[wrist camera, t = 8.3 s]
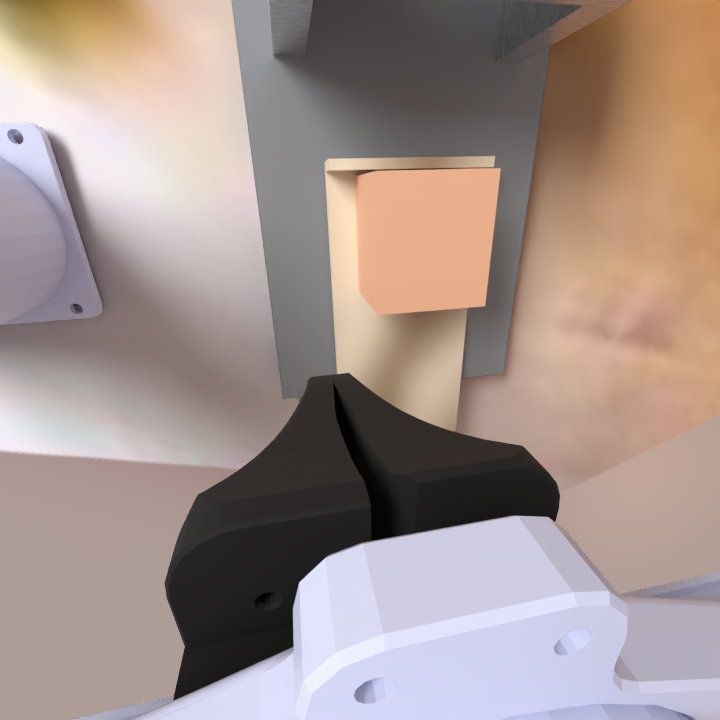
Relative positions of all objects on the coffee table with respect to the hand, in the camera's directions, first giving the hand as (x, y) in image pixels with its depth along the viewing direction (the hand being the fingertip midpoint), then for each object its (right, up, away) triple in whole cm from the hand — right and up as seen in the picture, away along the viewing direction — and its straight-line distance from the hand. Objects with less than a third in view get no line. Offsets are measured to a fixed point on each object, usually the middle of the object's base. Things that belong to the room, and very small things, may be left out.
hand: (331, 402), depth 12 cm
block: (+3, +7, +5) cm, 10 cm away
